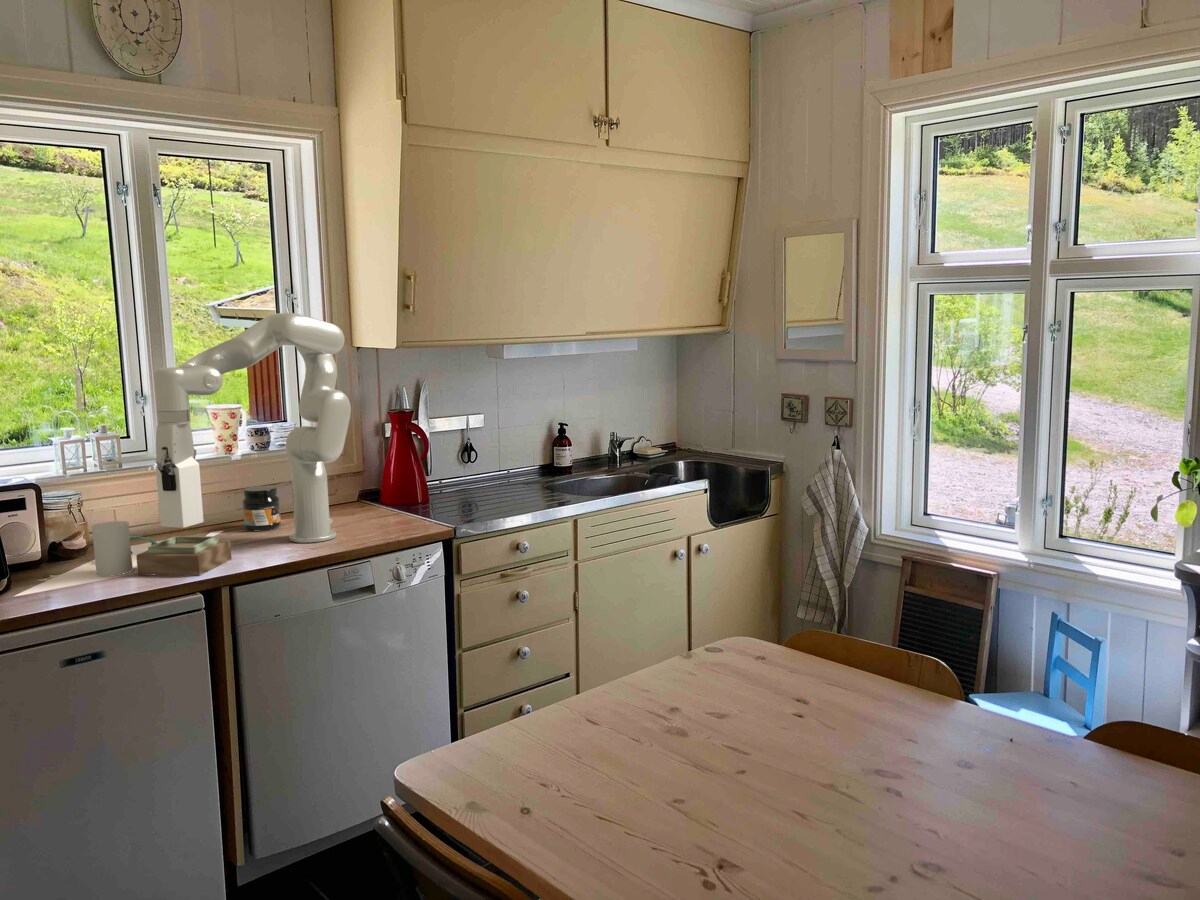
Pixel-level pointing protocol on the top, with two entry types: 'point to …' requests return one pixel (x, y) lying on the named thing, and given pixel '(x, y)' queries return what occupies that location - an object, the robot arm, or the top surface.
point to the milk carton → (181, 496)
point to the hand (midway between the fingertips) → (179, 487)
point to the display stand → (184, 555)
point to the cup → (112, 548)
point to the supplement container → (261, 508)
